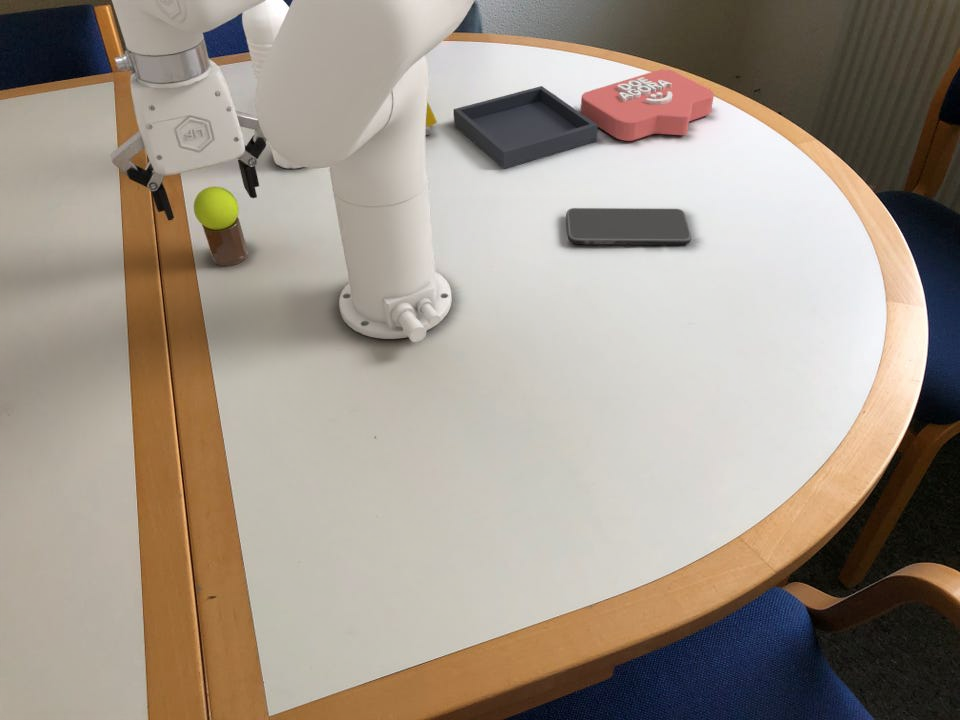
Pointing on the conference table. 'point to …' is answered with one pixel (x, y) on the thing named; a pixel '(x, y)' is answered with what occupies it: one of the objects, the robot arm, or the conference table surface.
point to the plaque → (647, 105)
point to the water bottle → (265, 42)
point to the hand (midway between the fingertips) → (210, 203)
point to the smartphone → (627, 226)
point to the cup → (227, 244)
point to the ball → (216, 208)
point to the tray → (524, 126)
